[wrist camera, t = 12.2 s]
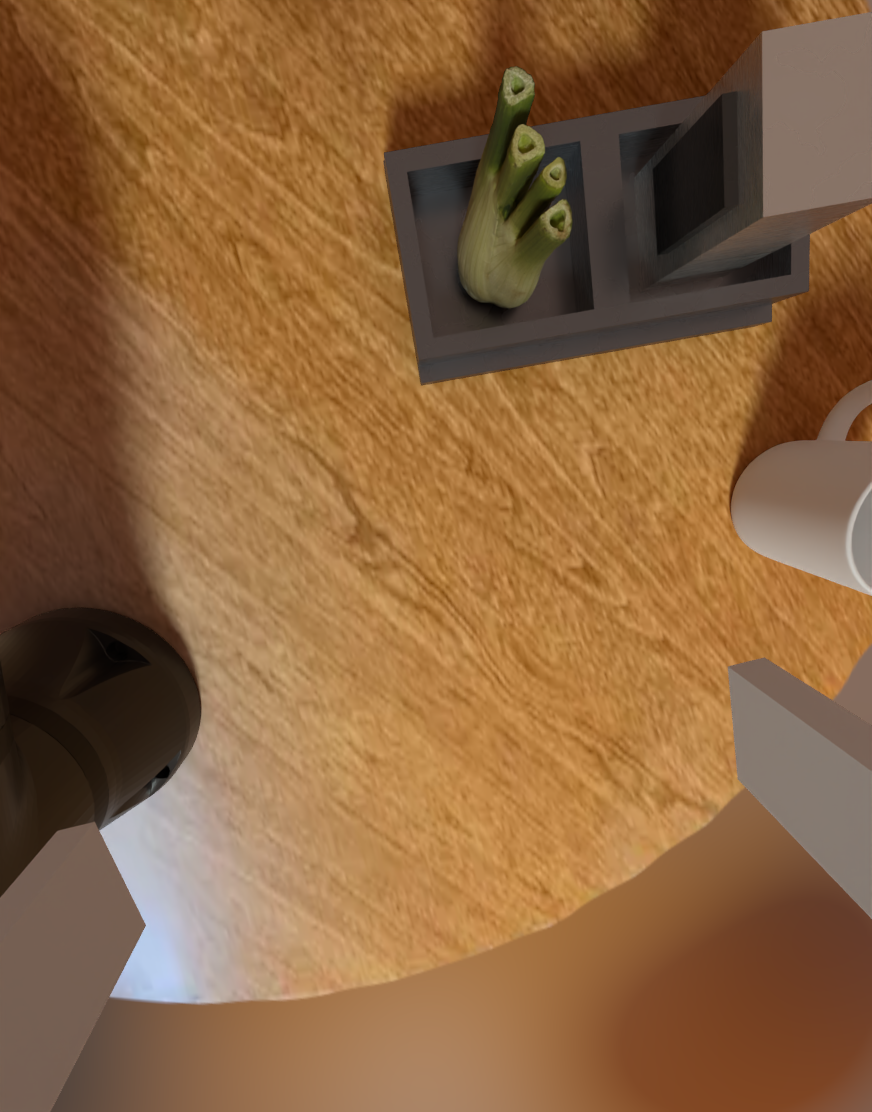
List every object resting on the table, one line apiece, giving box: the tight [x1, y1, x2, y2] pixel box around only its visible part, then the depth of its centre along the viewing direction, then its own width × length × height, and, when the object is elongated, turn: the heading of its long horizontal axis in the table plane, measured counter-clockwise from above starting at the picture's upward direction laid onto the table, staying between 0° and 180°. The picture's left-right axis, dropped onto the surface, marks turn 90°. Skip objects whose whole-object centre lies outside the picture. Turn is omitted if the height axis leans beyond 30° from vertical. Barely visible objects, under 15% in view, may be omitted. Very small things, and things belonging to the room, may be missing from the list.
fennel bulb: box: [457, 66, 573, 309], centre depth 24 cm, size 6×5×12 cm
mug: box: [731, 380, 872, 596], centre depth 30 cm, size 12×8×10 cm
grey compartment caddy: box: [384, 12, 872, 385], centre depth 25 cm, size 22×12×12 cm, turn 100°
